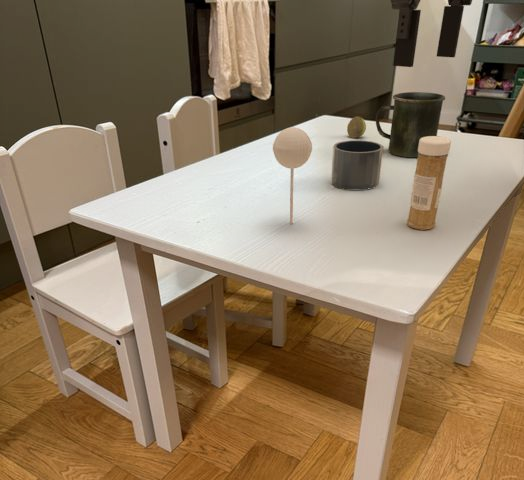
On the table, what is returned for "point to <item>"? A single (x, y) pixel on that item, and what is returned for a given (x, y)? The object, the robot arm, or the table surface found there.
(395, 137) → the mug
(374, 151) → the tin
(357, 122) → the lime
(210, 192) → the table surface
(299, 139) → the lollipop
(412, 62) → the robot arm
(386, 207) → the table surface
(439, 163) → the sprinkles bottle
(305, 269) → the table surface
